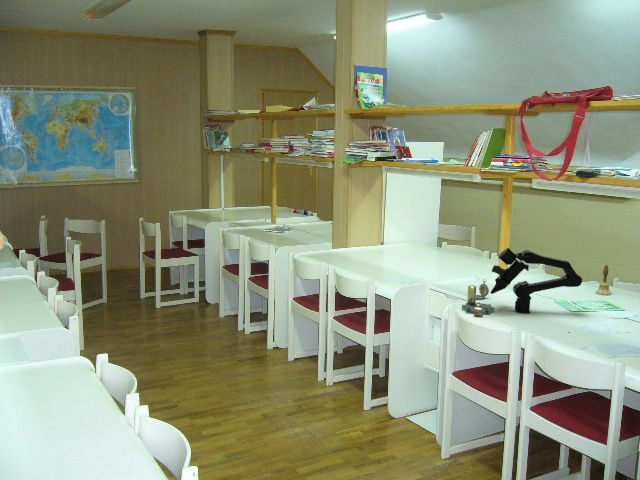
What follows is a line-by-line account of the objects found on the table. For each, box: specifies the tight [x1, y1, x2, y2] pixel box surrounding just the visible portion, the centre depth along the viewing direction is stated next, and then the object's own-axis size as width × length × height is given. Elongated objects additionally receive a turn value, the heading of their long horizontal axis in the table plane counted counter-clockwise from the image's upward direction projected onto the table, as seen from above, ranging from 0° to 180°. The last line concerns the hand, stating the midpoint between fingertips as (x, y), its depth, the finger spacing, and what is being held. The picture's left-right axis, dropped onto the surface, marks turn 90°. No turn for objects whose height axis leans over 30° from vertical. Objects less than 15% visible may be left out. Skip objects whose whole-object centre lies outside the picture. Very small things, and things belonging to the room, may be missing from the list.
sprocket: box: [461, 284, 496, 315], centre depth 329 cm, size 16×16×11 cm
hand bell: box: [595, 264, 612, 296], centre depth 369 cm, size 8×8×16 cm
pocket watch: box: [476, 278, 490, 300], centre depth 355 cm, size 8×8×10 cm
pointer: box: [473, 313, 484, 319], centre depth 320 cm, size 4×3×1 cm
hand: (491, 293), depth 332 cm, fingers closed
